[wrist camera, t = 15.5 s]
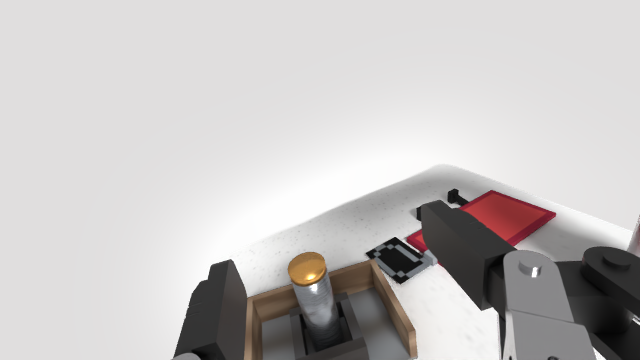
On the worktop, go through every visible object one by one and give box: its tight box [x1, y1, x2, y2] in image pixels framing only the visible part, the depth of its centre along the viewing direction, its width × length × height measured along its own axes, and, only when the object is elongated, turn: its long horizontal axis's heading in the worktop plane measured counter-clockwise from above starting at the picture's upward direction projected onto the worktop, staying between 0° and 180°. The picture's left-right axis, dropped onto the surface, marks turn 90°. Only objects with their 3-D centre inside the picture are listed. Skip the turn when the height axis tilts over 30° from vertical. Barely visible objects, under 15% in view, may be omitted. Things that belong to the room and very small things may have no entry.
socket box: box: [244, 259, 418, 360], centre depth 35 cm, size 12×19×5 cm, turn 102°
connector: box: [288, 252, 345, 352], centre depth 33 cm, size 4×4×13 cm
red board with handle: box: [366, 189, 556, 284], centre depth 48 cm, size 30×3×15 cm
